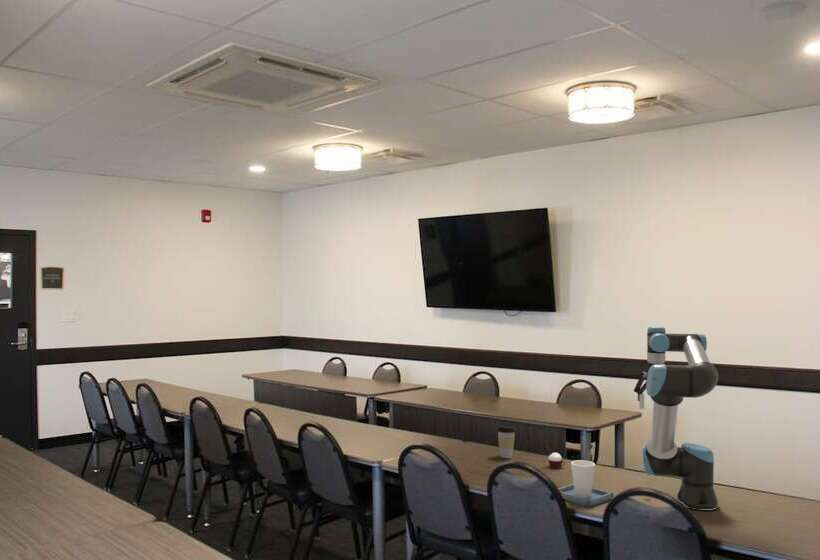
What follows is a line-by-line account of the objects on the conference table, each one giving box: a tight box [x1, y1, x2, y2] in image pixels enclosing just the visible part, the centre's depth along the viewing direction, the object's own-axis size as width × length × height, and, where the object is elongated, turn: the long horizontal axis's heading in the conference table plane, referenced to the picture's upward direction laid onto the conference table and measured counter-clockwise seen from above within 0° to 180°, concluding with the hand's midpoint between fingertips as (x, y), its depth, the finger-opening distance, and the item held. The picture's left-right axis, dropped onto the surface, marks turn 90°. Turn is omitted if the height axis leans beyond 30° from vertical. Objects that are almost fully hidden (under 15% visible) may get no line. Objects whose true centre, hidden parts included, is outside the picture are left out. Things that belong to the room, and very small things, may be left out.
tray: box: [557, 483, 614, 508], centre depth 278 cm, size 18×16×2 cm
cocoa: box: [544, 439, 566, 469], centre depth 324 cm, size 10×6×12 cm, turn 40°
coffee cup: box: [496, 424, 517, 459], centre depth 342 cm, size 9×9×15 cm
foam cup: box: [570, 459, 596, 498], centre depth 278 cm, size 10×9×13 cm
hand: (655, 411), depth 297 cm, fingers open, 13 cm apart
